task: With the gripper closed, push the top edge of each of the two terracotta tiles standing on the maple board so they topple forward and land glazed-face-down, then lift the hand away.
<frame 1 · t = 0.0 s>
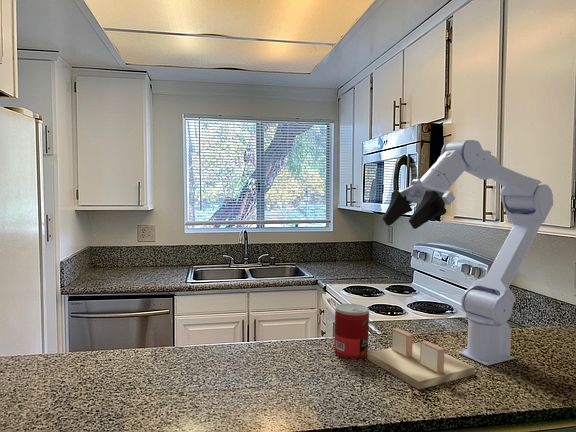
hand: (398, 223, 83), 32 cm above the countertop, tool tilted 50°, fingers open, 7 cm apart
board: (418, 366, 91), on the countertop
tile b: (431, 368, 87), point 2 cm above the countertop, touching board
canned food: (350, 353, 98), on the countertop
tile a: (401, 353, 95), point 2 cm above the countertop, touching board
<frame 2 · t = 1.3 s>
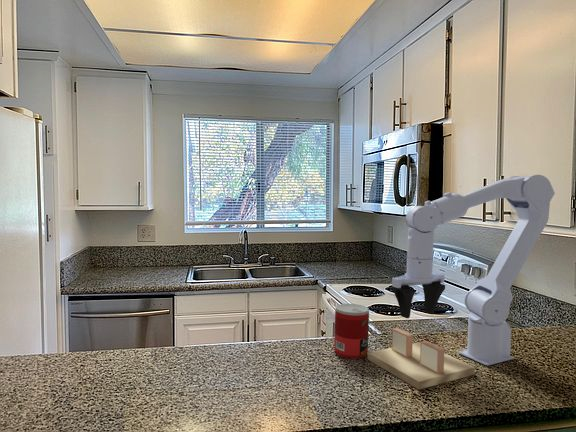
hand: (417, 315, 96), 10 cm above the countertop, tool pointing down, fingers open, 7 cm apart
nothing on the countertop moved.
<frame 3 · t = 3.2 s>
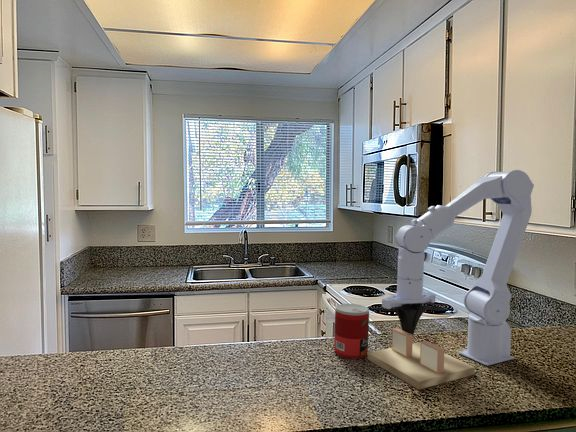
hand: (407, 335, 95), 5 cm above the countertop, tool pointing down, fingers closed
tile a: (401, 352, 95), point 2 cm above the countertop, touching board, gripper
everything else where it was.
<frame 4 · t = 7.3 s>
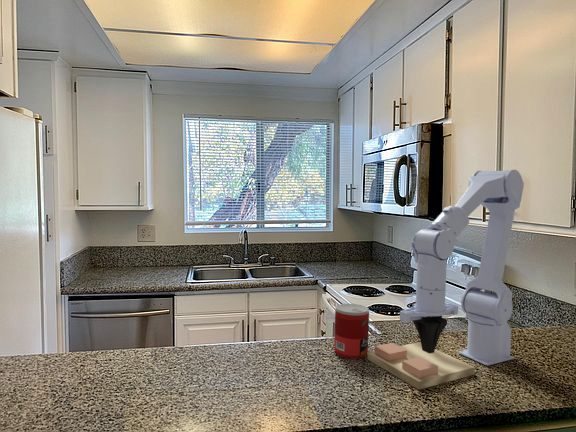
hand: (428, 351, 86), 5 cm above the countertop, tool pointing down, fingers closed
tile b: (428, 365, 86), point 2 cm above the countertop, tilted 90°, touching board
tile a: (399, 349, 94), point 2 cm above the countertop, tilted 90°, touching board
everything else where it was.
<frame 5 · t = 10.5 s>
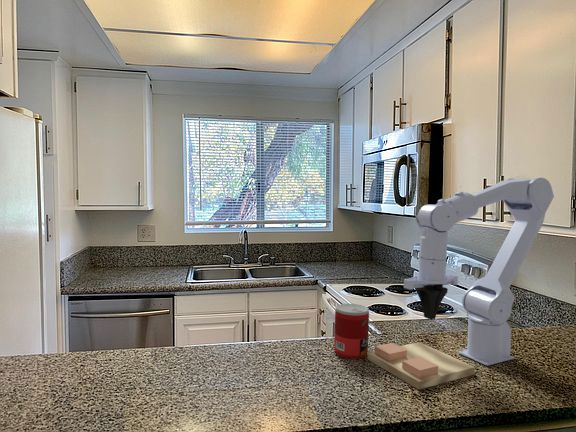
hand: (429, 318, 92), 10 cm above the countertop, tool pointing down, fingers closed
nothing on the countertop moved.
at the end: tile a tilted 90°; tile b tilted 90°; tile a inside the target area on the board (4.7 cm from its centre), point 2.5 cm above the board's base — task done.
